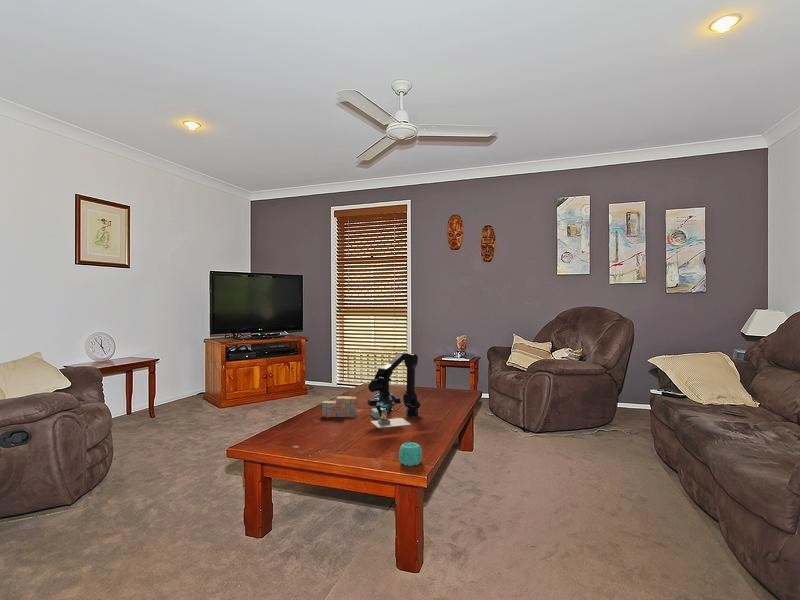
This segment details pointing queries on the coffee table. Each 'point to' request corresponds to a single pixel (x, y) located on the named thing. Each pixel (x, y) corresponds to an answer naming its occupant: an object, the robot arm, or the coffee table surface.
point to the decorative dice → (410, 454)
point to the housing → (376, 413)
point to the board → (390, 422)
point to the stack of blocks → (340, 407)
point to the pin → (383, 415)
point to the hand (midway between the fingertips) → (384, 416)
